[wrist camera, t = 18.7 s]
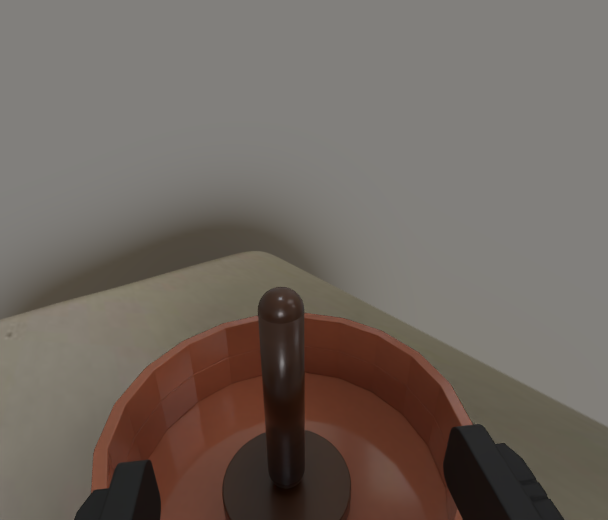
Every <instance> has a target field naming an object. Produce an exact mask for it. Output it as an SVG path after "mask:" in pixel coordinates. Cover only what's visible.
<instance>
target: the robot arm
mask: <svg viewBox="0 0 608 520" xmlns="http://www.w3.org/2000/svg"><path fill="white" fill-rule="evenodd" d="M443 472H444V477H445V481H446V484H447V487H448V489H449V491H450V493H451V496H452V498H453V500H454V502H455V504H456V506H457V508H458V511H459V513H460V515H461V517H462V519H463V520H564V518H563V517H562V515H561V514H560V513H559V511H558V510H557V508H556V507H555V505H554V504H553V502H552V501H551V499H548V497H547V494H546V492H545V491H544V489H543V488H542V486H541V485H540V483H539V482H538V483H537V481H536V478H535V476H534V475H533V473H532V472H531V470H530V469H529V467H528V466H527V465H526V463H525V462H524V460H523V459H522V458H521V457H520V456H519V455H517V454H516V453H515V452H514V451H513V450H512V449H510V448H509V447H508V446H507V445H506V444H505V443H500V444H495V443H494V441H493V440H492V438H491V437H490V435H489V434H488V432H487V431H486V429H485V428H484V427H483V426H482V425H480V424H475V425H466V426H457V427H452V428H451V430H450V434H449V439H448V443H447V448H446V452H445V457H444V461H443ZM160 517H161V498H160V493H159V489H158V485H157V481H156V477H155V473H154V470H153V466H152V462H151V460H140V461H131V462H122V463H118V464H117V466H116V468H115V470H114V473H113V476H112V480H111V483H110V486H109V488H105V489H97V490H93V492H92V493H91V494H90V496H89V497H88V498H87V500H86V501H85V502H84V504H83V505H82V506H81V508H80V509H79V510H78V512H77V514H76V516H75V519H74V520H160Z"/></svg>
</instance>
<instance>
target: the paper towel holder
mask: <svg viewBox="0 0 608 520" xmlns="http://www.w3.org/2000/svg"><path fill="white" fill-rule="evenodd" d="M258 323H259V338H260V353H261V369H262V384H263V399H264V414H265V429H266V432H265V433H262V434H260V435H258V436H256V437H254V438H253V439H251V440H249V441H248V442H247V443H246V444H244V445H243V446H242V447H241V448H240V449H239V450H238V451H237V453H236V454H235V455H234V457H233V458H232V460H231V461H230V463H229V465H228V467H227V470H226V472H225V475H224V479H223V485H222V498H223V505H224V512H225V517H226V520H347V518H348V514H349V509H350V500H351V478H350V473H349V469H348V466H347V464H346V462H345V460H344V458H343V457H342V455H341V453H340V452H339V451H338V450H337V448H336V447H335V446H334V445H333V444H332V443H330V442H329V441H328V440H326V439H325V438H323V437H322V436H320V435H318V434H316V433H314V432H311V431H308V430H305V367H304V305H303V301H302V299H301V298H300V296H299V295H298V294H297V293H296V292H295V291H294V290H292V289H290V288H287V287H276V288H273V289H271V290H269V291H267V292H266V293H265V294H264V295H263V296H262V298H261V299H260V302H259V305H258Z"/></svg>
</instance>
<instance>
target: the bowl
mask: <svg viewBox="0 0 608 520" xmlns="http://www.w3.org/2000/svg"><path fill="white" fill-rule="evenodd" d="M304 367H305V430H308V431H311V432H314V433H316V434H318V435H320V436H322V437H323V438H325V439H326V440H328V441H329V442H330V443H332V444H333V445H334V446H335V447H336V448H337V450H338V451H339V452H340V453H341V455H342V457H343V458H344V460H345V462H346V464H347V466H348V469H349V473H350V478H351V500H350V509H349V514H348V518H347V520H463V519H462V517H461V515H460V513H459V511H458V508H457V506H456V504H455V502H454V500H453V498H452V496H451V493H450V491H449V489H448V487H447V484H446V481H445V477H444V472H443V461H444V457H445V452H446V448H447V443H448V439H449V434H450V430H451V428H452V427H457V426H466V425H473V424H472V422H471V420H470V418H469V416H468V415H467V413H466V411H465V409H464V407H463V405H462V404H461V402H460V400H459V398H458V396H457V395H456V393H455V391H454V389H453V387H452V386H451V384H450V383H449V382H448V381H447V380H446V379H445V378H444V377H443V376H442V375H441V374H440V373H439V372H438V371H437V370H436V369H435V368H434V367H433V366H432V365H431V364H430V363H429V362H428V361H427V360H426V359H425V358H424V357H423V356H422V355H421V354H420V353H418V352H417V351H415V350H414V349H412V348H410V347H409V346H407V345H405V344H403V343H402V342H400V341H398V340H397V339H395V338H393V337H392V336H390V335H388V334H386V333H385V332H383V331H381V330H378V329H375V328H372V327H369V326H366V325H363V324H360V323H357V322H354V321H351V320H348V319H345V318H340V317H332V316H325V315H317V314H310V313H304ZM265 432H266V429H265V414H264V399H263V384H262V369H261V353H260V338H259V323H258V316H253V317H249V318H245V319H240V320H236V321H231V322H227V323H223V324H220V325H218V326H216V327H214V328H211V329H209V330H207V331H204V332H202V333H200V334H198V335H195V336H193V337H191V338H188V339H186V340H184V341H182V342H181V343H179V344H178V345H176V346H175V347H174V348H172V349H171V350H169V351H168V352H167V353H165V354H164V355H162V356H161V357H160V358H158V359H157V360H155V361H154V362H153V363H151V364H150V365H148V366H147V367H146V368H145V369H144V370H143V371H142V372H141V374H140V375H139V376H138V377H137V378H136V379H135V381H134V382H133V383H132V384H131V385H130V386H129V388H128V389H127V390H126V391H125V392H124V393H123V395H122V396H121V397H120V398H119V399H118V400H117V402H116V403H115V404H114V406H113V409H112V411H111V413H110V415H109V418H108V420H107V422H106V424H105V427H104V429H103V431H102V433H101V436H100V438H99V440H98V442H97V445H96V447H95V449H94V453H93V468H92V485H91V493H92V492H93V490H97V489H105V488H109V486H110V483H111V480H112V476H113V473H114V470H115V468H116V466H117V464H118V463H122V462H131V461H140V460H151V462H152V466H153V470H154V473H155V477H156V481H157V485H158V489H159V493H160V498H161V517H160V520H226V517H225V512H224V505H223V498H222V485H223V479H224V475H225V472H226V470H227V467H228V465H229V463H230V461H231V460H232V458H233V457H234V455H235V454H236V453H237V451H238V450H239V449H240V448H241V447H242V446H243V445H244V444H246V443H247V442H248V441H249V440H251V439H253V438H254V437H256V436H258V435H260V434H262V433H265Z"/></svg>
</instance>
